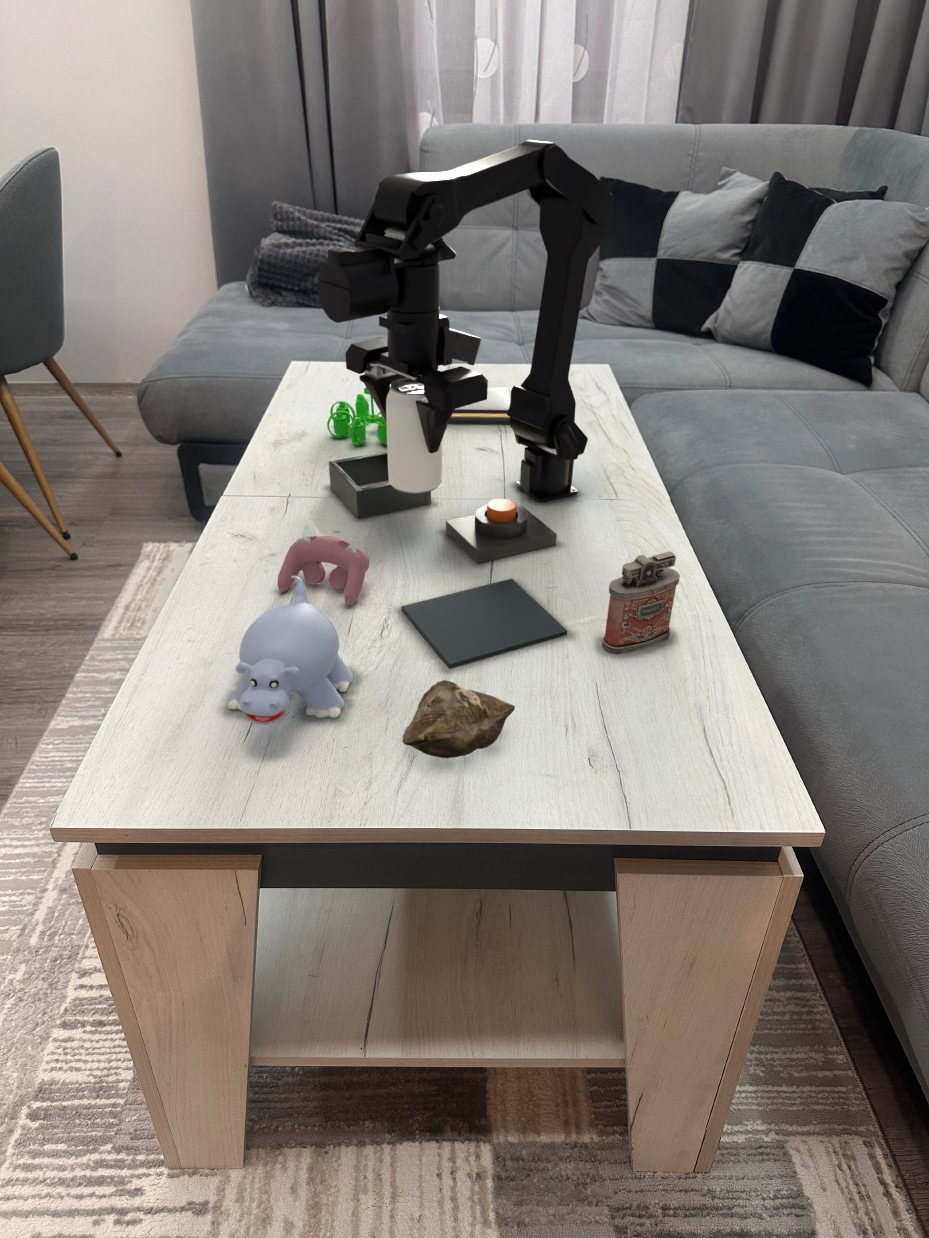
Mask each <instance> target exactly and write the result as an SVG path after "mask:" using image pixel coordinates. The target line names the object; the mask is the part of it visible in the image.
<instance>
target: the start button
mask: <svg viewBox="0 0 929 1238" xmlns="http://www.w3.org/2000/svg"><path fill="white" fill-rule="evenodd" d="M486 505H487V518H488V519H490V520H493V521H496V522H508V521H512V520H515V518H516V506H517V503H516V502H515V501H513V500H511V499H508V498H493V499H490V500H489V501H488V502H487V504H486Z"/></svg>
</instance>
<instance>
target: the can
mask: <svg viewBox="0 0 929 1238" xmlns="http://www.w3.org/2000/svg"><path fill="white" fill-rule="evenodd" d="M389 388H390V391H389V393H388V395H387V398H386V420H387V445H386V451H387V453H388V478H389V480H388V483H390V484H391V485H392V487H393V488H395V489H396V490H398V491H401V492H405V493H425V492H429V491H431V492H433V491H434V490H436V489H437V488H438V487H439V486H440V485H441V483H442V481H443V440H442V441H441V444H440V446H439V449H438V451H437V452H435V453H432V454H431V453H429V451H428V448H427V446H426V442H425V438H424V434H423V430H422V426H421V422H420V418H419V414H418V410H417V406H416V400H419V399H423V398H426V397H425V395H424V384H422V383H419V382H417V381H414V380H412V379H409V378H404V379H399V380H396V381H393V382H392V383H390V385H389Z"/></svg>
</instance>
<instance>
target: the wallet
mask: <svg viewBox="0 0 929 1238" xmlns="http://www.w3.org/2000/svg"><path fill="white" fill-rule="evenodd" d="M511 390H512V388H509V387H497V386H496V387H495V386H494V387H493V386H488V392H487V400H483V401H480V402H477V403H473V404H470V405H466V406H463V407H460V408H456V409H455V410H454V412H453V414H452V416H451V418H450V420H449V422H448V425H451V424H452V425H453V424H454V425H510V416H507V412H508V410H509V406H510V401H511Z"/></svg>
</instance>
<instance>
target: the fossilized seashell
mask: <svg viewBox="0 0 929 1238" xmlns="http://www.w3.org/2000/svg"><path fill="white" fill-rule="evenodd" d="M515 708H516V706H515V705H514V704H511V703H509V702H507V701H504V700H502V699H500V698H498V697H495V696H493V695H490V694H487V693H484V692H480V691H476V690H471V689H467V688H463V687H461V686H460V685H458V684H457V683H455V682H453V681H450V680H445V679H444V680H443V679H442V680H440V681H437V682H436V683H435V684H433V685H431V686H430V688H429V689H428V690H427V691H426V692H425V693H423V696H422V697H421V699H420V701H419V702H418V705H417V709H416V711H415V714H414V715H413V718H412V720H411V722H410V723H409V724H408V726H407V727H406V728H405V730H404V733H403V734H402V743H403V744H404V745H405V746H410V747H412V748H414V749H415V750H417V751H419V752H421V753H422V754H425V755H427V756H431V757H435V758H441V759H454V758H458V757H459V758H460V757H463V756H464V757H465V756H467V755H470V754H472V753H474V752H475V751H477V750H484V749H487V748H489V747H490V746H491V745H492V746H493V744H494V743H495V742H496V741H497V740H498V738H499V737H500V735H501V734H502V731H503V728H504V726H505V723H506V721H507V719H508V717H509V716H511V714H512V713H514V711H515Z"/></svg>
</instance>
